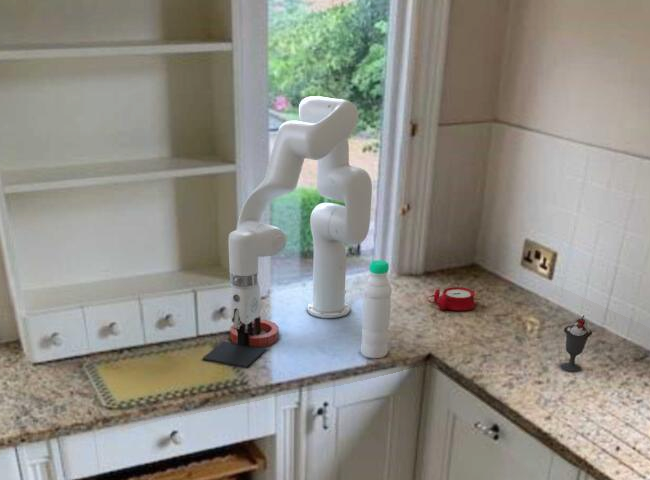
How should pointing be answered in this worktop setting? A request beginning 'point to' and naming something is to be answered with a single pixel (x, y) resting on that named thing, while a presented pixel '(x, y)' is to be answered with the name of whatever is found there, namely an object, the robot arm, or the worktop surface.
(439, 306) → the alarm clock
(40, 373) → the worktop surface
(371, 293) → the water bottle
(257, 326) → the peg stand
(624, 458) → the worktop surface
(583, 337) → the sundae
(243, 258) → the robot arm
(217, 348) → the mat
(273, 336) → the ring
